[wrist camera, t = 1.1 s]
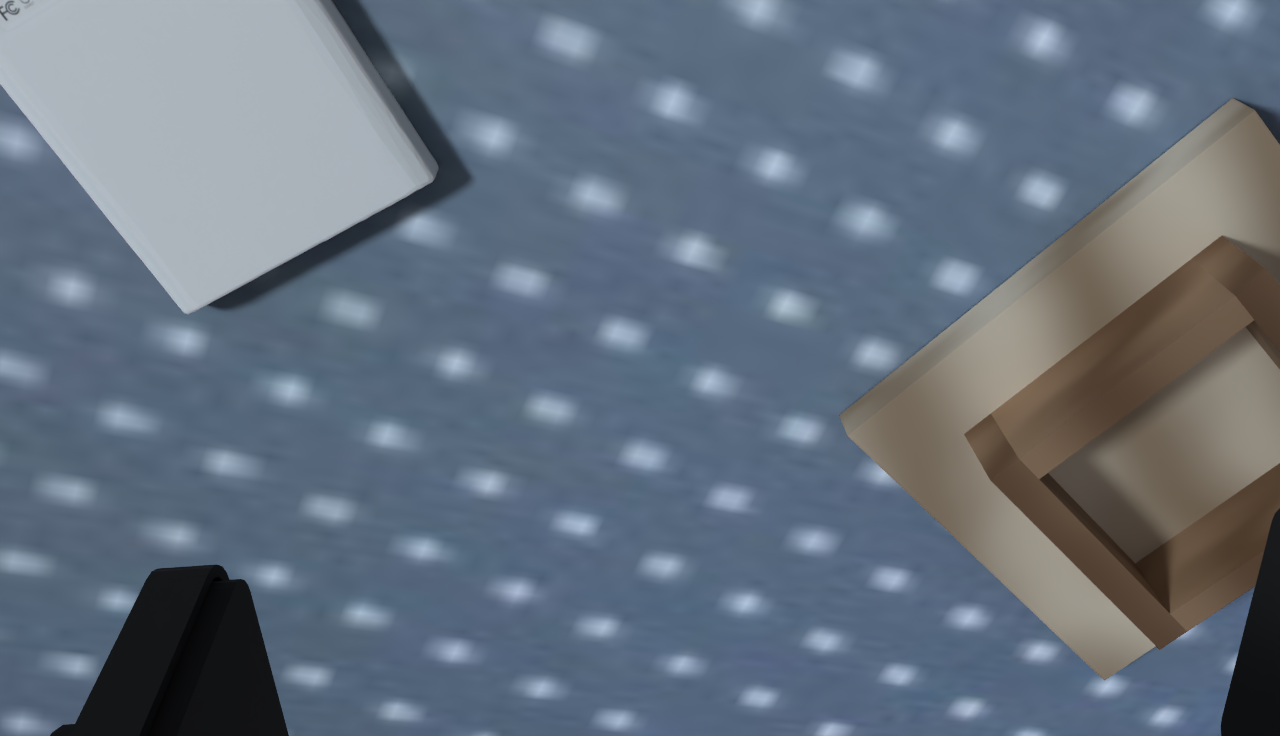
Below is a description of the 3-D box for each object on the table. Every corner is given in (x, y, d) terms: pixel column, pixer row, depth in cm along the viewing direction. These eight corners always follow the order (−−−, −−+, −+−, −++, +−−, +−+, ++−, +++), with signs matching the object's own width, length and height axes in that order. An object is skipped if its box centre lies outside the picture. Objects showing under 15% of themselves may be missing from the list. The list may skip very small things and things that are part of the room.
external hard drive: (198, 294, 34) (-126, -114, 29) (442, 162, 33) (148, -296, 27) (182, 319, 33) (-162, -106, 27) (436, 181, 31) (125, -297, 26)
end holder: (1232, 97, 33) (1306, 138, 29) (1457, 408, 38) (1541, 472, 35) (839, 415, 37) (866, 481, 33) (1090, 656, 42) (1135, 734, 39)
